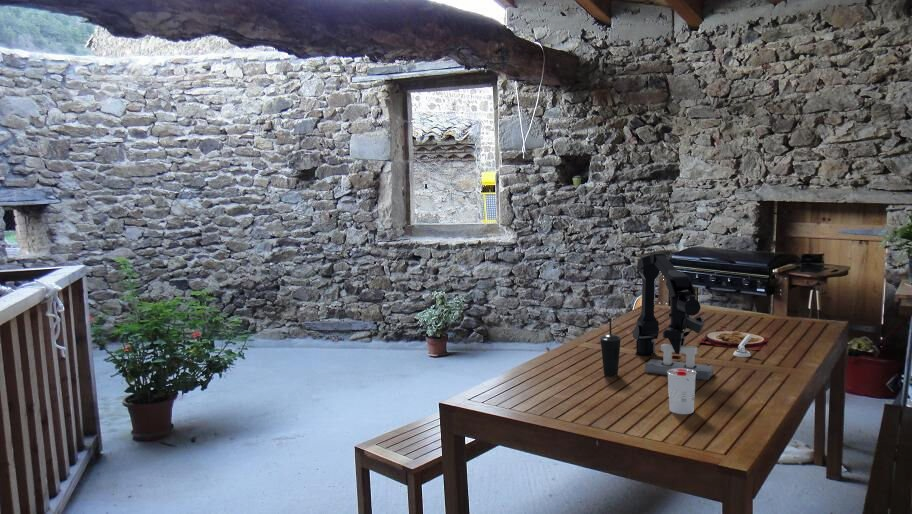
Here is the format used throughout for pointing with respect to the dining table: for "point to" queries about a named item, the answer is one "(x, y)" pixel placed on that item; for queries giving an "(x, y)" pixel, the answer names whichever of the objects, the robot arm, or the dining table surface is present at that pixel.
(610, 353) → the drinking cup
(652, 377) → the dining table surface
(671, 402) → the white cylindrical container
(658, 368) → the rail
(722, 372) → the dining table surface
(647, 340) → the robot arm
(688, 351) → the clip
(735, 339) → the plate with food
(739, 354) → the hook
